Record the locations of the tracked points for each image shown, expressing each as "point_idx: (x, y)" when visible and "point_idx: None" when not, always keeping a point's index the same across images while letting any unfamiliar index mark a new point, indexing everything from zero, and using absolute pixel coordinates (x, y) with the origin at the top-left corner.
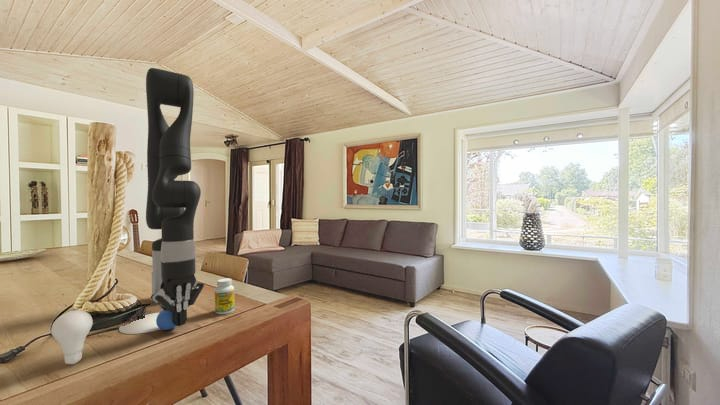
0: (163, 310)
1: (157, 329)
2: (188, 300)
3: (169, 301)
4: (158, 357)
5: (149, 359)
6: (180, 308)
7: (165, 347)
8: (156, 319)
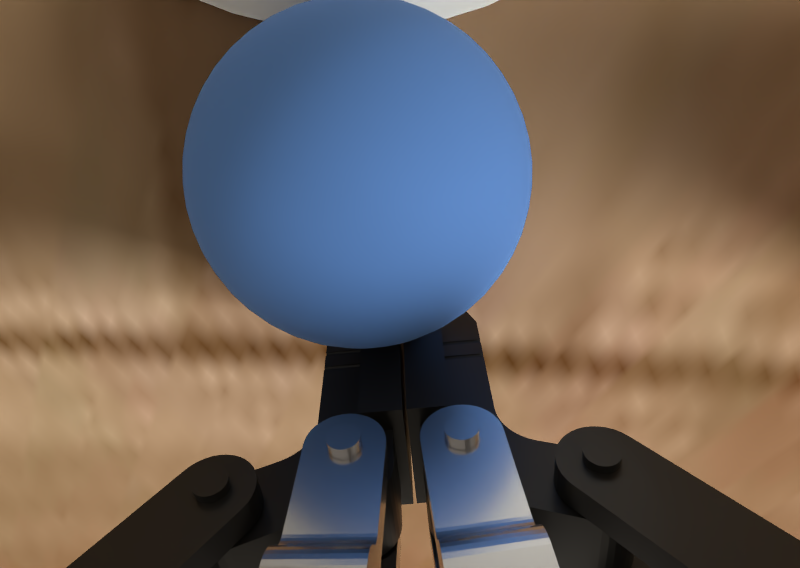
0: (264, 238)
1: (258, 17)
2: (583, 559)
3: (266, 563)
4: (102, 526)
5: (49, 509)
6: (385, 554)
7: (179, 451)
8: (185, 140)
